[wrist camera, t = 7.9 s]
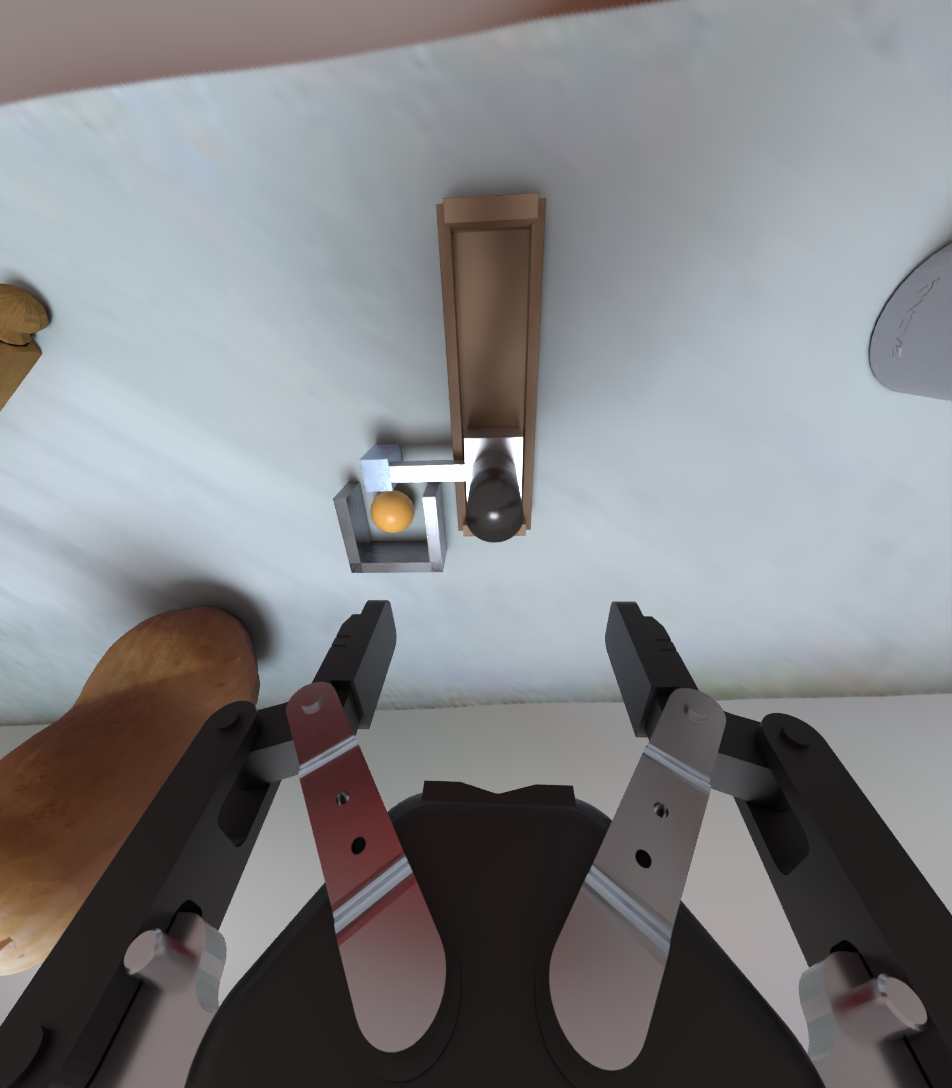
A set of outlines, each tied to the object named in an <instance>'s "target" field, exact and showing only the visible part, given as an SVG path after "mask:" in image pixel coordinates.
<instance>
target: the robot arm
mask: <svg viewBox="0 0 952 1088" xmlns="http://www.w3.org/2000/svg"><path fill="white" fill-rule="evenodd" d="M870 363H871V368H872V370H873V373H874V375H875V377H876V379H877V380H878V381H879V382H880V383H881V384H882V385H883V386H885V387H887V388H888V389H890V390H892V391H896V392H901V393H906V394H912V395H918V396H924V397H930V398H936V399H942V400H948V401H952V243H950V244H949V245H947V246H946V247H944V248H943V249H941V250H940V251H938V252H936V253H935V254H933V255H932V256H931V257H930V258H929V259H927V260H926V261H925V262H924V263H923V264H922V265H920V266H919V267H918V268H917V269H916V270H915V271H914V272H913V273H912V274H911V275H910V276H909V277H908V278H907V279H906V280H905V281H904V282H903V283H902V285H901V286H900V287H899V288H898V290H897V291H896V292H895V294H894V295H893V296H892V298H891V299H890V301H889V302H888V303H887V305H886V307H885V309H884V311H883V312H882V314H881V316H880V318H879V320H878V322H877V325H876V328H875V331H874V333H873V336H872V341H871V347H870ZM605 643H606V649H607V653H608V656H609V659H610V662H611V665H612V668H613V671H614V674H615V677H616V680H617V683H618V685H619V688H620V691H621V694H622V697H623V700H624V703H625V706H626V709H627V712H628V715H629V718H630V721H631V724H632V727H633V730H634V733H635V736H636V737H648V739H649V743H648V745H647V746H646V747H645V749H644V752H643V754H642V756H641V758H640V760H639V763H638V765H637V767H636V769H635V772H634V774H633V776H632V778H631V781H630V782H629V785H628V787H627V789H626V791H625V794H624V796H623V798H622V800H621V802H620V805H619V807H618V809H617V812H616V814H615V816H614V818H613V820H611V819H610V818H609V817H608V816H606V815H605V814H604V813H602V812H601V811H600V810H598V809H597V808H595V807H594V806H592V805H590V804H588V803H586V802H584V801H582V800H579V799H576V798H575V796H574V790H573V786H566V785H565V786H564V785H537V784H536V785H532V786H528V787H524V788H520V789H516V790H512V791H508V792H505V793H500V794H496V793H493V792H489V791H486V790H483V789H480V788H477V787H474V786H471V785H468V784H465V783H462V782H449V781H424V788H423V793H420V794H416V795H414V796H411V797H409V798H407V799H405V800H403V801H402V802H400V803H398V804H397V805H396V806H394V807H393V808H392V809H390V810H389V811H388V812H387V811H386V808H385V806H384V803H383V801H382V799H381V796H380V794H379V792H378V789H377V787H376V784H375V782H374V780H373V777H372V775H371V772H370V770H369V768H368V765H367V763H366V760H365V758H364V756H363V753H362V751H361V748H360V746H359V744H358V741H357V739H356V738H355V736H356V733H357V730H358V729H369V728H370V725H371V722H372V718H373V715H374V712H375V709H376V706H377V703H378V700H379V696H380V693H381V690H382V687H383V684H384V681H385V678H386V674H387V671H388V668H389V665H390V662H391V659H392V656H393V652H394V649H395V645H396V628H395V623H394V619H393V614H392V609H391V604H390V602H389V601H388V600H368V601H367V602H366V604H365V606H364V608H363V610H362V613H361V614H353V615H352V616H351V617H350V618H349V619H348V620H346V621H345V622H344V623H343V624H342V626H341V628H340V630H339V632H338V634H337V637H336V638H335V639H334V641H333V643H332V647H330V649H329V651H328V653H327V655H326V657H325V659H324V661H323V663H322V665H321V666H320V668H319V670H318V672H317V674H316V676H315V678H314V680H313V682H312V683H311V684H308V685H306V686H304V687H302V688H301V689H299V690H298V691H297V692H296V693H295V694H294V695H293V696H292V697H291V698H290V700H289V702H286V703H283V704H279V705H276V706H272V707H268V708H264V709H260V710H257V709H256V707H255V705H254V704H253V703H251V702H249V701H236V702H233V703H230V704H227V705H225V706H223V707H222V708H220V709H219V710H217V711H216V712H214V713H213V714H212V715H211V716H210V717H209V718H208V719H207V721H206V722H205V723H204V725H203V726H202V728H201V729H200V731H199V732H198V734H197V735H196V737H195V738H194V740H193V741H192V742H191V744H190V745H189V747H188V748H187V750H186V751H185V753H184V754H183V756H182V757H181V759H180V760H179V762H178V763H177V765H176V766H175V768H174V769H173V771H172V772H171V774H170V775H169V777H168V778H167V780H166V781H165V783H164V784H163V786H162V787H161V789H160V790H159V791H158V793H157V794H156V796H155V797H154V799H153V800H152V802H151V803H150V805H149V806H148V808H147V809H146V811H145V812H144V814H143V815H142V817H141V818H140V820H139V821H138V823H137V824H136V826H135V827H134V829H133V830H132V832H131V833H130V835H129V836H128V838H127V839H126V841H125V842H124V843H123V845H122V846H121V848H120V849H119V851H118V852H117V854H116V855H115V857H114V858H113V860H112V861H111V863H110V864H109V866H108V867H107V869H106V870H105V872H104V873H103V875H102V876H101V878H100V879H99V881H98V882H97V884H96V885H95V887H94V888H93V890H92V891H91V893H90V894H89V895H88V897H87V898H86V900H85V901H84V903H83V904H82V906H81V907H80V909H79V910H78V912H77V913H76V915H75V916H74V918H73V919H72V921H71V922H70V924H69V925H68V927H67V928H66V930H65V931H64V933H63V934H62V936H61V937H60V939H59V940H58V942H57V943H56V944H55V946H54V947H53V949H52V950H51V952H50V953H49V955H48V956H47V958H46V959H45V961H44V962H43V964H42V965H41V967H40V968H39V970H38V971H37V973H36V974H35V976H34V977H33V979H32V980H31V982H30V983H29V985H28V986H27V988H26V989H25V991H24V992H23V994H22V995H21V997H20V998H19V1000H18V1001H17V1002H16V1004H15V1005H14V1007H13V1008H12V1010H11V1011H10V1013H9V1014H8V1016H7V1017H6V1019H5V1021H4V1022H3V1023H2V1025H1V1026H0V1088H952V915H951V914H950V912H949V911H948V910H947V908H946V907H945V905H944V904H943V902H942V901H941V900H940V898H939V897H938V896H937V894H936V893H935V892H934V890H933V889H932V887H931V886H930V885H929V883H928V882H927V880H926V879H925V878H924V876H923V875H922V873H921V872H920V871H919V869H918V868H917V867H916V865H915V864H914V862H913V861H912V860H911V858H910V857H909V855H908V854H907V853H906V851H905V850H904V849H903V847H902V846H901V844H900V843H899V842H898V840H897V839H896V838H895V836H894V835H893V833H892V832H891V831H890V829H889V828H888V826H887V825H886V824H885V822H884V821H883V820H882V818H881V817H880V815H879V814H878V813H877V811H876V810H875V808H874V807H873V806H872V804H871V803H870V802H869V800H868V799H867V797H866V796H865V795H864V793H863V792H862V790H861V789H860V788H859V786H858V785H857V784H856V782H855V781H854V780H853V778H852V777H851V776H850V774H849V773H848V771H847V770H846V769H845V767H844V766H843V764H842V763H841V761H840V760H839V759H838V757H837V756H836V755H835V753H834V752H833V750H832V749H831V748H830V746H829V745H828V743H827V742H826V741H825V739H824V738H823V737H822V736H821V735H820V734H819V733H818V732H817V731H816V730H815V729H814V728H813V727H811V726H810V725H808V724H807V723H805V722H803V721H802V720H800V719H798V718H796V717H793V716H790V715H787V714H782V713H772V714H768V715H766V716H765V717H764V718H763V720H762V722H757V721H754V720H751V719H747V718H744V717H740V716H737V715H733V714H730V713H727V712H725V711H723V709H722V708H721V706H720V705H719V704H718V703H717V702H716V701H715V700H714V699H713V698H711V697H710V696H708V695H707V694H705V693H703V692H701V691H699V690H698V688H697V686H696V684H695V683H694V681H693V679H692V677H691V675H690V673H689V672H688V670H687V668H686V666H685V664H684V663H683V661H682V659H681V657H680V655H679V653H678V652H676V648H675V646H674V644H673V643H672V642H671V639H670V637H669V635H668V633H667V632H666V630H665V628H664V627H663V626H662V625H661V624H660V623H659V622H658V621H657V620H655V619H654V618H653V617H650V616H643V614H642V612H641V610H640V608H639V606H638V605H637V603H636V602H612V604H611V608H610V613H609V618H608V623H607V628H606V634H605ZM298 774H299V779H300V783H301V787H302V791H303V795H304V799H305V803H306V807H307V811H308V815H309V819H310V823H311V827H312V831H313V835H314V839H315V843H316V847H317V851H318V855H319V859H320V863H321V867H322V871H323V875H324V879H325V883H324V884H323V885H322V886H321V888H320V889H319V890H318V891H317V892H316V893H315V894H314V896H313V897H312V898H311V899H310V900H309V901H308V902H307V904H306V905H305V906H304V907H303V908H302V909H301V911H300V912H299V913H298V914H297V915H296V916H295V917H294V919H293V920H292V921H291V922H290V923H289V924H288V926H287V927H286V928H285V929H284V930H283V931H282V932H281V933H280V934H279V936H278V937H277V938H276V939H275V940H274V941H273V942H272V944H271V945H270V946H269V947H268V948H267V949H266V951H265V952H264V953H263V954H262V955H261V956H260V957H259V959H258V960H257V961H256V962H255V963H254V964H253V966H252V967H251V968H250V969H249V970H248V971H247V972H246V973H245V975H244V976H243V977H242V978H241V979H240V980H239V981H238V983H237V984H236V985H235V986H234V987H233V989H232V990H231V991H230V993H229V994H228V995H227V997H226V998H225V1000H224V1001H223V1002H222V1004H221V1006H220V1007H219V1002H218V990H219V984H220V979H221V976H222V972H223V969H224V965H225V961H226V942H225V939H224V937H223V935H222V934H221V933H220V932H219V931H218V930H219V928H220V926H221V923H222V921H223V918H224V916H225V913H226V911H227V909H228V906H229V904H230V902H231V899H232V897H233V894H234V892H235V890H236V887H237V885H238V883H239V880H240V878H241V875H242V873H243V871H244V868H245V866H246V864H247V861H248V859H249V856H250V854H251V851H252V849H253V847H254V844H255V842H256V840H257V837H258V835H259V833H260V830H261V828H262V825H263V823H264V820H265V818H266V816H267V813H268V811H269V809H270V806H271V804H272V801H273V799H274V797H275V794H276V792H277V789H278V787H279V785H280V782H281V780H282V779H285V778H288V777H291V776H295V775H298ZM711 788H712V789H715V790H717V791H720V792H723V793H726V794H729V795H732V796H733V797H734V799H735V801H736V804H737V806H738V808H739V810H740V813H741V815H742V817H743V819H744V821H745V824H746V826H747V828H748V831H749V833H750V835H751V837H752V840H753V842H754V844H755V846H756V849H757V851H758V853H759V855H760V858H761V860H762V862H763V864H764V867H765V869H766V871H767V873H768V875H769V878H770V880H771V883H772V885H773V887H774V889H775V892H776V894H777V896H778V898H779V900H780V903H781V905H782V907H783V910H784V912H785V914H786V916H787V919H788V921H789V923H790V925H791V928H792V930H793V932H794V934H795V937H796V939H797V941H798V943H799V946H800V948H801V950H802V953H803V954H804V957H805V959H806V961H807V964H808V966H809V968H808V969H807V970H805V971H804V972H803V974H802V976H801V978H800V981H799V997H800V1003H801V1006H802V1009H803V1013H804V1016H805V1019H806V1022H807V1027H808V1033H809V1048H808V1053H806V1051H805V1050H804V1048H803V1047H802V1045H801V1044H800V1043H799V1041H798V1039H797V1038H796V1037H795V1035H794V1034H793V1033H792V1031H791V1030H790V1029H789V1027H788V1026H787V1025H786V1024H785V1022H784V1021H783V1020H782V1019H781V1017H779V1015H778V1014H777V1013H776V1012H775V1010H774V1009H773V1008H772V1007H771V1006H770V1005H769V1003H768V1002H767V1001H766V1000H765V999H764V998H763V996H762V995H761V994H760V993H759V992H758V990H757V989H756V988H755V987H754V986H753V985H752V983H751V982H750V981H749V980H748V979H747V978H746V976H745V975H744V974H743V973H742V972H741V970H740V969H739V968H738V967H737V966H736V965H735V964H734V962H733V961H732V960H731V959H730V957H729V956H728V955H727V954H726V953H725V952H724V950H723V949H722V948H721V947H720V946H719V945H718V943H717V942H716V941H715V940H714V939H713V937H712V936H711V935H710V934H709V933H708V932H707V930H706V929H705V928H704V927H703V926H702V924H701V923H700V922H699V921H698V920H697V919H696V917H695V916H694V915H693V914H692V913H691V912H690V910H689V909H688V908H687V907H686V906H685V904H684V903H683V902H682V901H681V897H682V893H683V890H684V886H685V882H686V879H687V875H688V871H689V868H690V864H691V860H692V857H693V853H694V850H695V846H696V842H697V839H698V835H699V831H700V828H701V824H702V820H703V817H704V813H705V809H706V806H707V802H708V798H709V795H710V791H711Z"/></svg>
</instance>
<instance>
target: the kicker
mask: <svg viewBox="0 0 952 1088" xmlns="http://www.w3.org/2000/svg"><path fill="white" fill-rule="evenodd" d="M464 448H465V460H431V461H402V458H401V451H400V444H375V445H374V446H373V447H372V448H371V449H370V450H369V451H368V452H367V453H366V454H365V455H364V456H363V457H362V458H361V459H360V465H361V470H362V475H363V480H364V485H365V490H366V492H372V491H393V489H394V488H395V486H396V484H397V483H398V482H437V481H466V487H467V508H466V523H467V526H468V528H469V529H470V531H471V532H472V533H473V534H474V535H475V536H476V537H478V538H479V539H481V540H484V541H487V542H502V541H506V540H508V539H510V538H512V537H513V536H514V535H515V534H516V533H517V532H518V531H519V530H520V528H521V526H522V524H523V520H524V512H523V506H522V500H521V488H522V455H523V435H522V432H521V429H520V427H494V428H466V433H465V437H464Z"/></svg>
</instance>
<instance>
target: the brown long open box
mask: <svg viewBox="0 0 952 1088" xmlns="http://www.w3.org/2000/svg"><path fill="white" fill-rule="evenodd" d="M538 196H539V193H530V194H512V195H495V196H478V197H461V198H444V199H443V203H444V204H436V208H437V223H438V237H439V252H440V267H441V281H442V296H443V311H444V325H445V340H446V355H447V369H448V384H449V399H450V413H451V428H452V443H453V457H454V460H465V448H464V437H465V433H466V428H494V427H520V429H521V432H522V435H523V455H522V488H521V500H522V506H523V512H524V520H523V524H522V526H521V528H520V530H519V531H518V532H517V533H516V534H515V535H514V536H525V535H526V530H531V510H532V488H533V466H534V444H535V423H536V401H537V379H538V357H539V336H540V314H541V292H542V270H543V249H544V227H545V205H546V198H540V199H538ZM455 487H456V501H457V516H458V531H463V533H464V536H475V535H474V534H473V533H472V532H471V531H470V529H469V528H468V526H467V523H466V508H467V487H466V481H455Z"/></svg>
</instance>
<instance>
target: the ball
mask: <svg viewBox="0 0 952 1088" xmlns="http://www.w3.org/2000/svg"><path fill="white" fill-rule="evenodd" d="M371 517H372V520H373V522H374V524H375V525H376V526H377V527H378V528H379V529H381V530H382V531H385V532H388V533H398V532H401V531H403V530H405V529H406V528H408V527H409V526H410V524H411V523H412V521H413V518H414V506H413V503H412V501H411V500H410V498H409V497H408V496H407V495H406V494H404V493H402V492H400V491H397V490H393V491H384V492H382V493H380V494H379V495H378V496H377V497H376V498H375V499H374V500H373V502H372V505H371Z"/></svg>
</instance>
